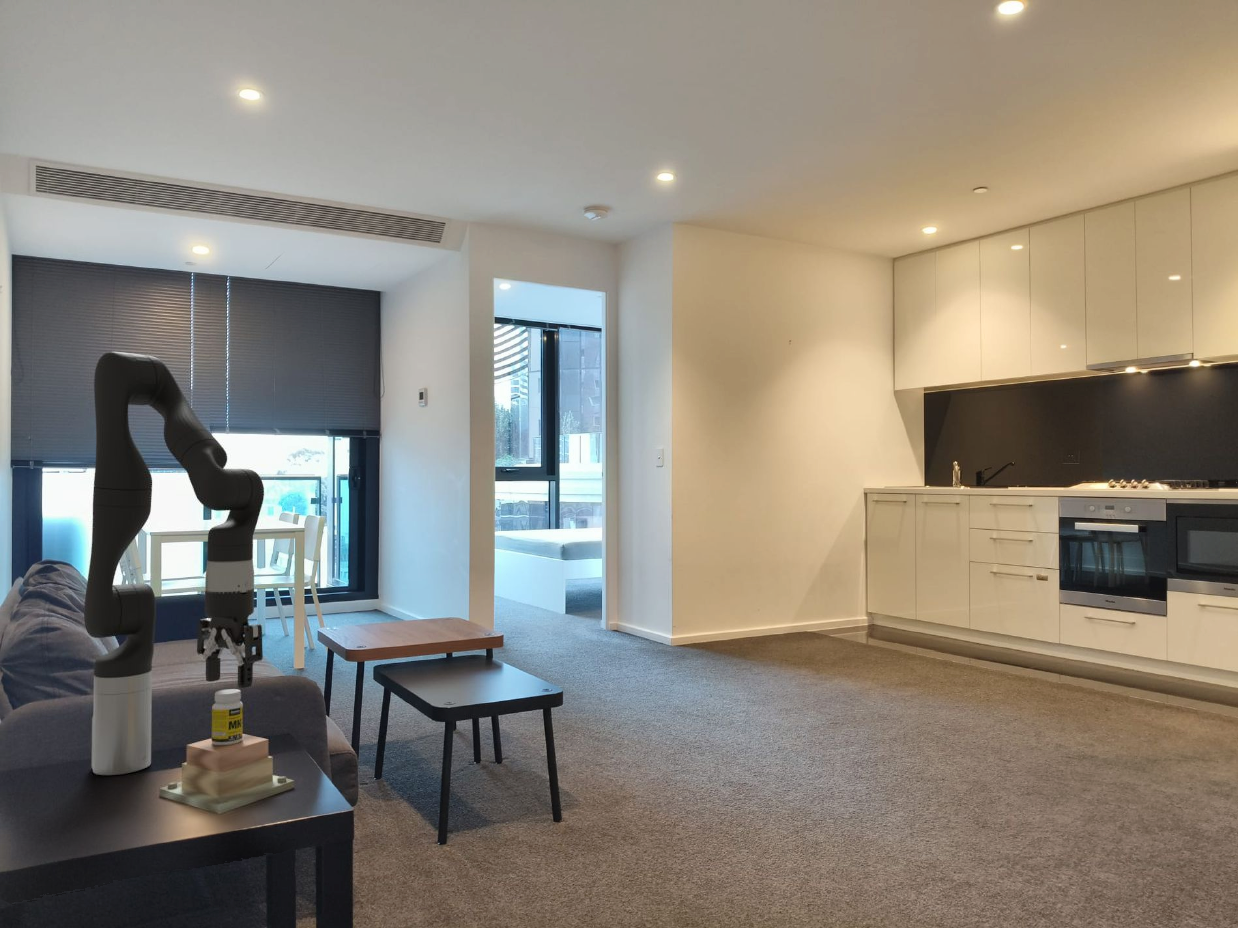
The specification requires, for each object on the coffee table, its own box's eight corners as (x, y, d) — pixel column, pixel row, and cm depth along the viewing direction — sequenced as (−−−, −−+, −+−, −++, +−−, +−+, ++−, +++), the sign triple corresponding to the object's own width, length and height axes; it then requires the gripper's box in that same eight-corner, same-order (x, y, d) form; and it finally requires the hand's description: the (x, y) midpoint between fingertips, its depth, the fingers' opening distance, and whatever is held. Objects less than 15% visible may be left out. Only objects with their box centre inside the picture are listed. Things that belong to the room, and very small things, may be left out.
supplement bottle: (230, 746, 144) (231, 695, 145) (205, 745, 145) (205, 694, 145) (248, 738, 149) (248, 688, 149) (223, 737, 150) (224, 687, 150)
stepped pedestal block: (159, 795, 145) (159, 745, 145) (235, 771, 157) (235, 725, 157) (218, 813, 137) (219, 760, 137) (294, 787, 149) (294, 738, 149)
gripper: (183, 586, 148) (182, 683, 148) (236, 592, 141) (235, 694, 141) (223, 582, 155) (222, 674, 154) (276, 587, 147) (275, 684, 147)
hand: (228, 683), depth 147 cm, fingers open, 8 cm apart
